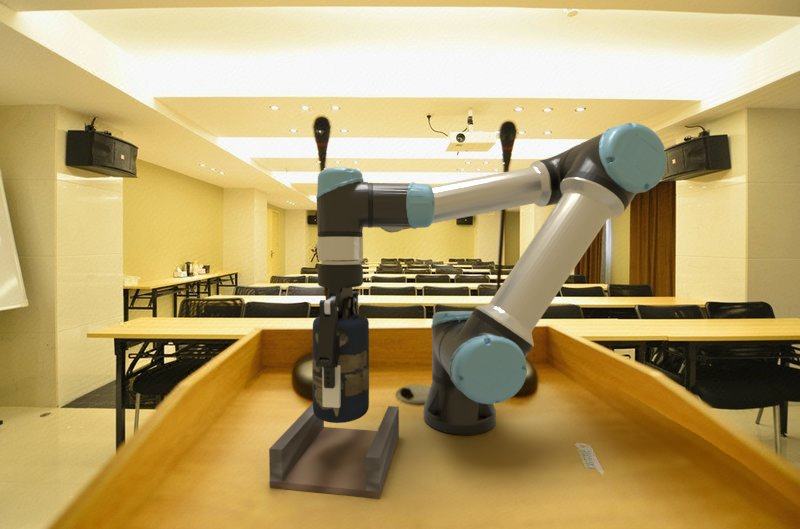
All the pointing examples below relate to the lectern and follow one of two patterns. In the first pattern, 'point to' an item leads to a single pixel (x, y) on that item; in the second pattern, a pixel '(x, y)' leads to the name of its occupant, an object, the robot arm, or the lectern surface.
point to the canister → (345, 371)
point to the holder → (334, 456)
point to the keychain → (589, 457)
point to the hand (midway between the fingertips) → (341, 394)
